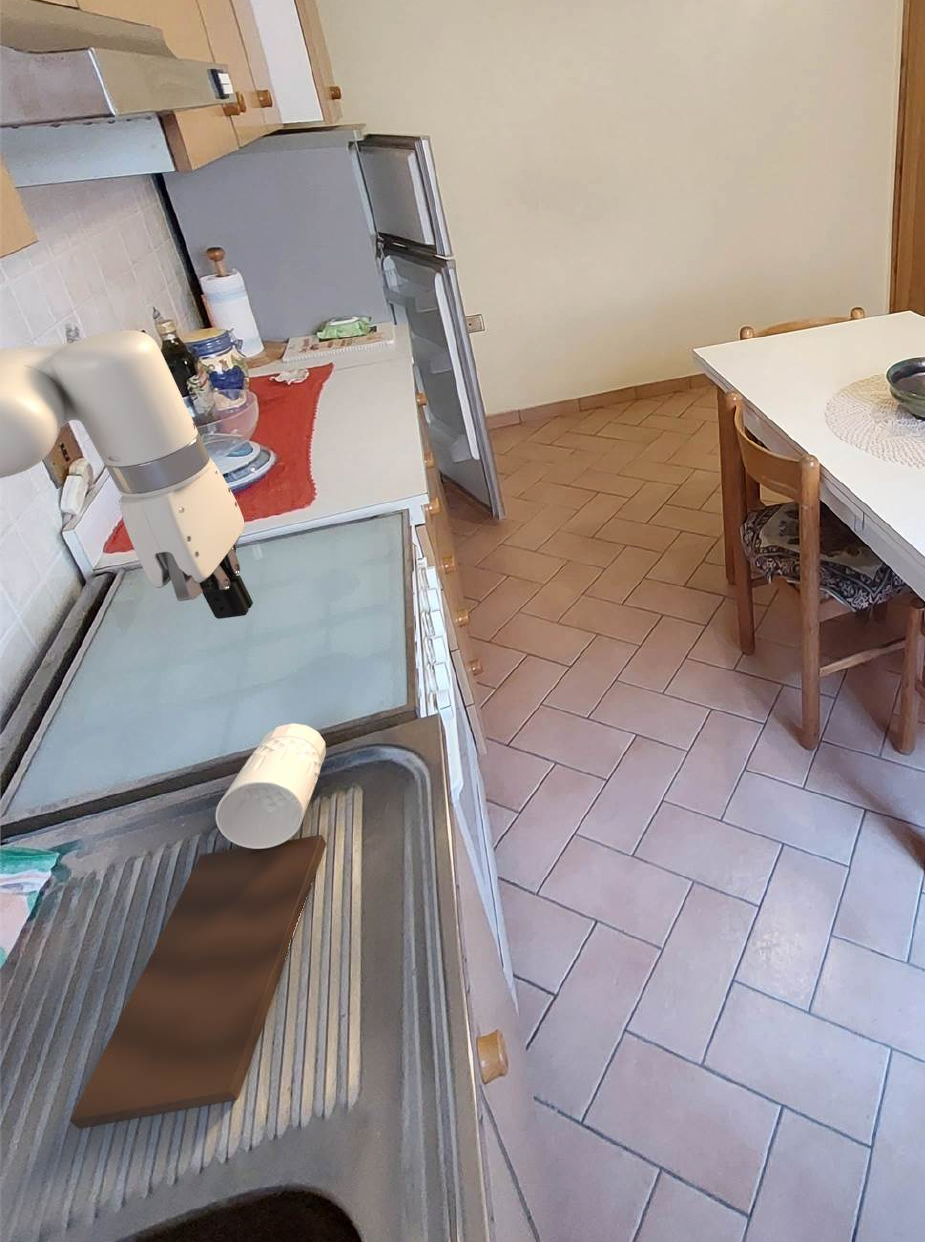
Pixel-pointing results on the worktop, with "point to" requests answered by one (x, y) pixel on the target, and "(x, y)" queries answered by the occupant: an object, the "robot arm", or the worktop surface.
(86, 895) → the worktop surface
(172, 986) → the board
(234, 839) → the white cup
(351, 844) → the worktop surface
